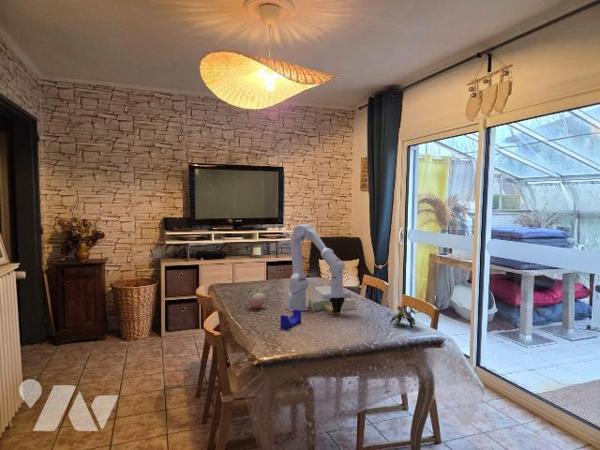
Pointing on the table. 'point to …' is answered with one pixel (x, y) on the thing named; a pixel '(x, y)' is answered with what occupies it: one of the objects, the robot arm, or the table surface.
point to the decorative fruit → (256, 299)
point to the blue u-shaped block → (291, 320)
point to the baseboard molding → (324, 289)
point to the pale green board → (346, 305)
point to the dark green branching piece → (403, 314)
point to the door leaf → (319, 305)
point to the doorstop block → (329, 309)
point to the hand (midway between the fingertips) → (336, 313)
